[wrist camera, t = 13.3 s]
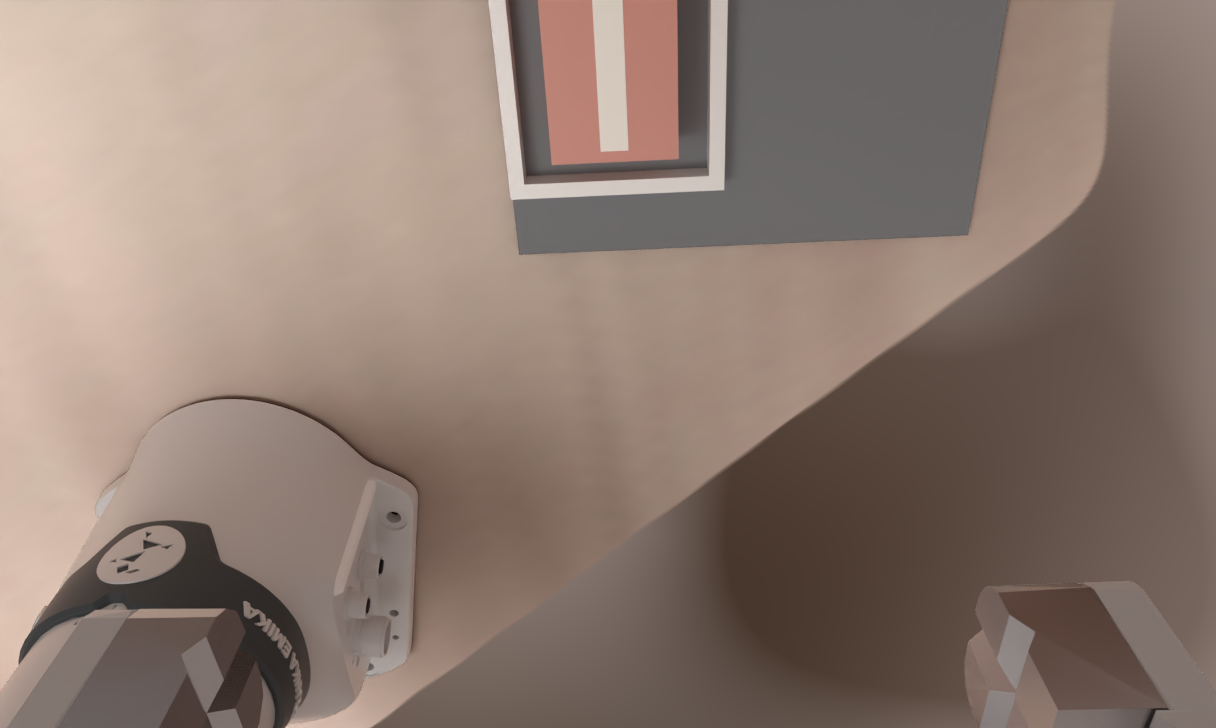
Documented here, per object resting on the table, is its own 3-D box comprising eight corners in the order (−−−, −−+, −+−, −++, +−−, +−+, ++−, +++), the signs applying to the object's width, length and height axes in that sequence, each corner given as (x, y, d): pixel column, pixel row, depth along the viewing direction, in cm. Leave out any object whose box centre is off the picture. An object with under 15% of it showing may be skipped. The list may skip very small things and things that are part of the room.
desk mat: (965, 231, 43) (968, 235, 43) (519, 251, 44) (519, 254, 44) (1049, -266, 33) (1054, -267, 33) (467, -230, 34) (465, -231, 33)
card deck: (538, -72, 36) (532, -65, 34) (672, -79, 36) (676, -73, 33) (555, 144, 41) (551, 165, 38) (674, 138, 41) (678, 159, 38)
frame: (721, 181, 42) (724, 190, 41) (513, 191, 42) (510, 199, 41) (727, -146, 35) (730, -145, 34) (477, -132, 35) (473, -130, 34)
